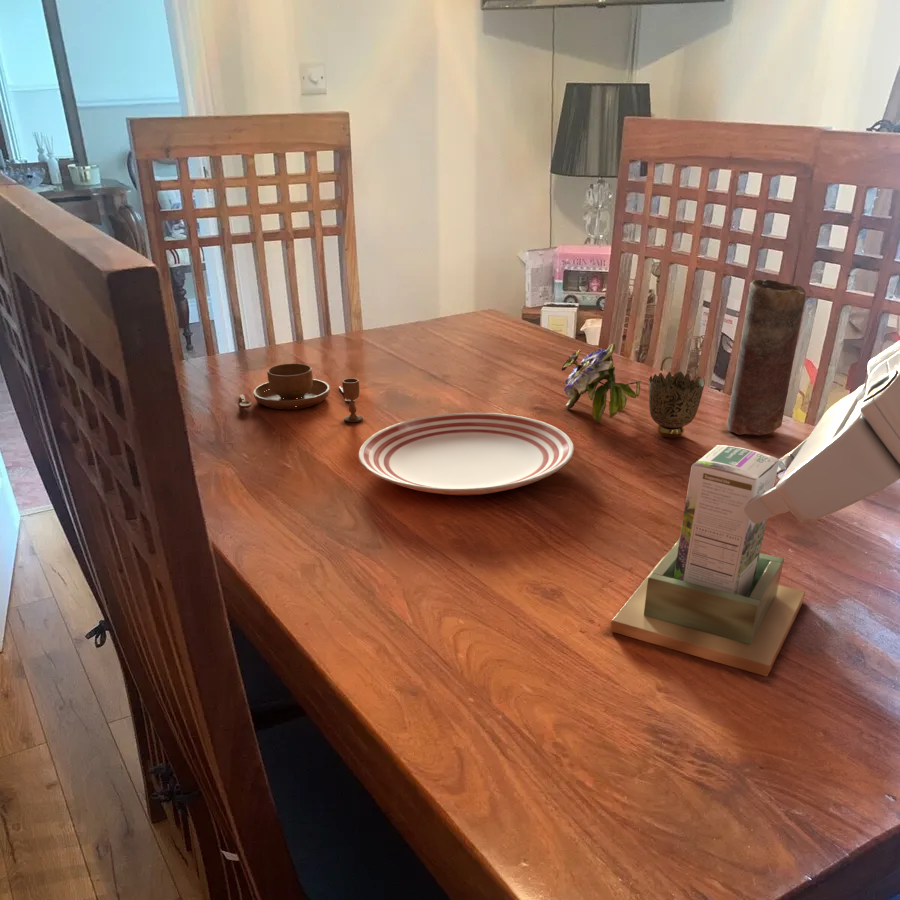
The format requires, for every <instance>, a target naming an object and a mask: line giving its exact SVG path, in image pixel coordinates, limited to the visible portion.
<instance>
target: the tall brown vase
mask: <svg viewBox="0 0 900 900" xmlns="http://www.w3.org/2000/svg"><path fill="white" fill-rule="evenodd" d="M748 290H749V291H748V296H747V301H746V308H745V315H744V320H743V325H742V331H741V338H740V344H739V349H738V354H737V355H738V356H737V361H736V367H735V373H734V379H733V385H732V390H731V395H730V399H729V400H730V401H729V409H728V413H727V420H726V425H725V428H726V430H727V431H728V432H730V433H734V434H736V435H740V436H741V435H744V434H745V435H754V436H755V435H756V436H763V435H764V436H765V435H768V434H770V433H773V432H775V431H777V430H778V429H779V428H781V427H782V424H783V419H784V415H785V407H786V404H787V399H788V393H789V388H790V387H789V386H790V382H791V381H790V380H791V376H792V370H793V364H794V359H795V354H796V353H795V352H796V349H797V343H798V337H799V333H800V327H801V322H802V317H803V311H804V306H805V301H806V294H807V292H806V290H805V289H804V287H802V286H801V285H796V284H795V285H794V284H791V283H786V282H781V281H778V280H774V279H768V278H767V279H765V278H764V279H753V280H752V281H751V282H750V284H749V289H748Z"/></svg>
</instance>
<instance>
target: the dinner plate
mask: <svg viewBox="0 0 900 900" xmlns="http://www.w3.org/2000/svg"><path fill="white" fill-rule="evenodd" d="M574 451H575V446H574V443H573V440H572V439H571V437H569V435H568V434H567V433H565V432H564V431H563V430H561V429H559V427H556V426H554V425H552V424H550V423H547V422H544V421H541V420H538V419H534V418H531V417H526V416H520V415H514V414H506V413H497V412H456V413H442V414H434V415H427V416H422V417H416V418H412V419H408V420H405V421H401V422H398V423H395V424H393V425H392V424H391V425H390V426H388V427H384V428H383V429H381V430H379V431H377V432H375V433H374V434H372V435H371V436H370V437H367V439H366V440H364V442H363V443H362V445H361V446H360V448H359V451H358V460H359V462H360V464H361V466H362V467H363V468H364V469H366V470H367V471H368V472H369V473H371V474H372V475H374V476H376V477H378V478H380V479H382V480H385V481H386V482H389V483H392V484H394V485H398V486H400V487H403V488H407V489H411V490H415V491H420V492H425V493H430V494H439V495H440V494H441V495H447V496H478V495H487V494H488V495H489V494H493V493H499V492H503V491H508V490H513V489H517V488H521V487H524V486H528V485H531V484H533V483H536V482H538V481H541V480H543V479H546V478H547V477H549V476H551V475H553V474H555V473H556V472H558V471H560V470H561V469H562V468H563V467H565V466H566V465H567V464H568V463H569V462H570V460H571V459H572V458H573V455H574Z"/></svg>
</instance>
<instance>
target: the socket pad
mask: <svg viewBox="0 0 900 900" xmlns="http://www.w3.org/2000/svg"><path fill="white" fill-rule="evenodd" d="M679 541H680V538H679V539H678V540H677V541H676V543H675V544H674V545H673V546H672V547H671V548H670V550H669V551H668V552H667V553H666V555H664V556H663V557H661V559H660V560H659V562H658V563H657V564H656V565H655V566H654V567H653V569H652V570H651V572H650V573H649V574H648V575H647V576H646V577H645V579H644V580H643V581H642V582H641V584H640V585H639V586H638V588H637V589H636V590H635V591H634V592H633V593H632V595H631V596H630V597H629V599H628V600H627V601H626V602H625V604H624V605H622V607H621V608H620V610H619V611H618V612H617V613H616V615H615V616H614V617H613V618H612V619H611V623H610V632H611V633H615V634H619V635H622V636H626V637H629V638H632V639H635V640H639V641H643V642H646V643H649V644H652V645H656V646H660V647H662V648H667V649H670V650H674V651H677V652H679V653H683V654H687V655H691V656H695V657H698V658H701V659H704V660H708V661H711V662H715V663H718V664H721V665H726V666H729V667H731V668H735V669H739V670H743V671H746V672H748V673H749V672H750V673H753V674H756V675H759V676H763V677H768V676H769V674H770V672H771V670H772V668H773V665H774V664H775V662H776V659H777V657H778V655H779V653H780V651H781V649H782V647H783V646H784V643H785V641H786V638H787V637H788V635H789V633H790V630H791V628H792V626H793V625H794V623H795V620H796V618H797V615H798V614H799V612H800V609H801V607H802V606H803V604H804V600H805V596H806V591H804V590H802V589H798V588H793V587H789V586H784V585H781V584H780V580H781V575H782V571H783V566H784V563H785V558H784V557H779V556H775V555H770V554H766V553H761V552H760V554H759V559H758V564H757V569H756V573H755V578H754V583H753V587H752V592H751V595H750V597H749V598H748V597H744V596H740V595H737V594H733V593H729V592H725V591H721V590H717V589H713V588H709V587H705V586H701V585H697V584H693V583H689V582H685V581H681V580H677V579H674V572H675V567H676V560H677V554H678V547H679Z"/></svg>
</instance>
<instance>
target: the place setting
mask: <svg viewBox="0 0 900 900" xmlns="http://www.w3.org/2000/svg"><path fill="white" fill-rule="evenodd" d="M266 374H267V382H264V383H261V384H258V386H256V387H255V388H254V389H253V397H254V399H255V400H256V401H257V402H258V403H259V404H260V405H262V406H264V407H267V408H269V409H275V410H300V409H305V408H309V407H314V406H316V405H318V404H320V403H321V402H323V401H324V400H326V399H327V397H328V396H329V394H330V387H331V386H330V385H329V383H328V382H326V381H324V380H320V379H318V378H317V379H315V378H314V377H313V368H312V367H311V366H310V365H308V364H304V363H297V362H296V363H295V362H293V363H282V364H277V365H273V366H271V367H269V368H268V369H267V370H266ZM341 383H342V384H341V385H342V386H341V385H339V386H338V389H339V390H340V391H341V393H342V394H343V397H344V398H345V399H344V401H345V402H348V403H349V406H348V411H349V412H350V414H349V415H347V416H345V417H343V421H344V422H346V423H352V424H353V423H359V422H362V421H363V419H364V418H363V416H361V415H359V414H356V411H357V407H356V400H357V399H358V398H359V397H360V380H359V379H358V378H355V377H348V378H344V379H342V380H341ZM268 389H270V390H268ZM266 390H267V391H266ZM264 391H265V392H264ZM280 397H281V398H280ZM301 397H302V398H301ZM239 398H240V399H241V402H240V403H239V404H238V405H239V407H241V408H243V409H248V408H250V407H252V402H251V401H247V400H246V398H245V395H244V394H243V393H240V394H239ZM283 398H284V399H283ZM296 398H298V399H296ZM242 399H244V400H242ZM295 406H297V407H295Z"/></svg>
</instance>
